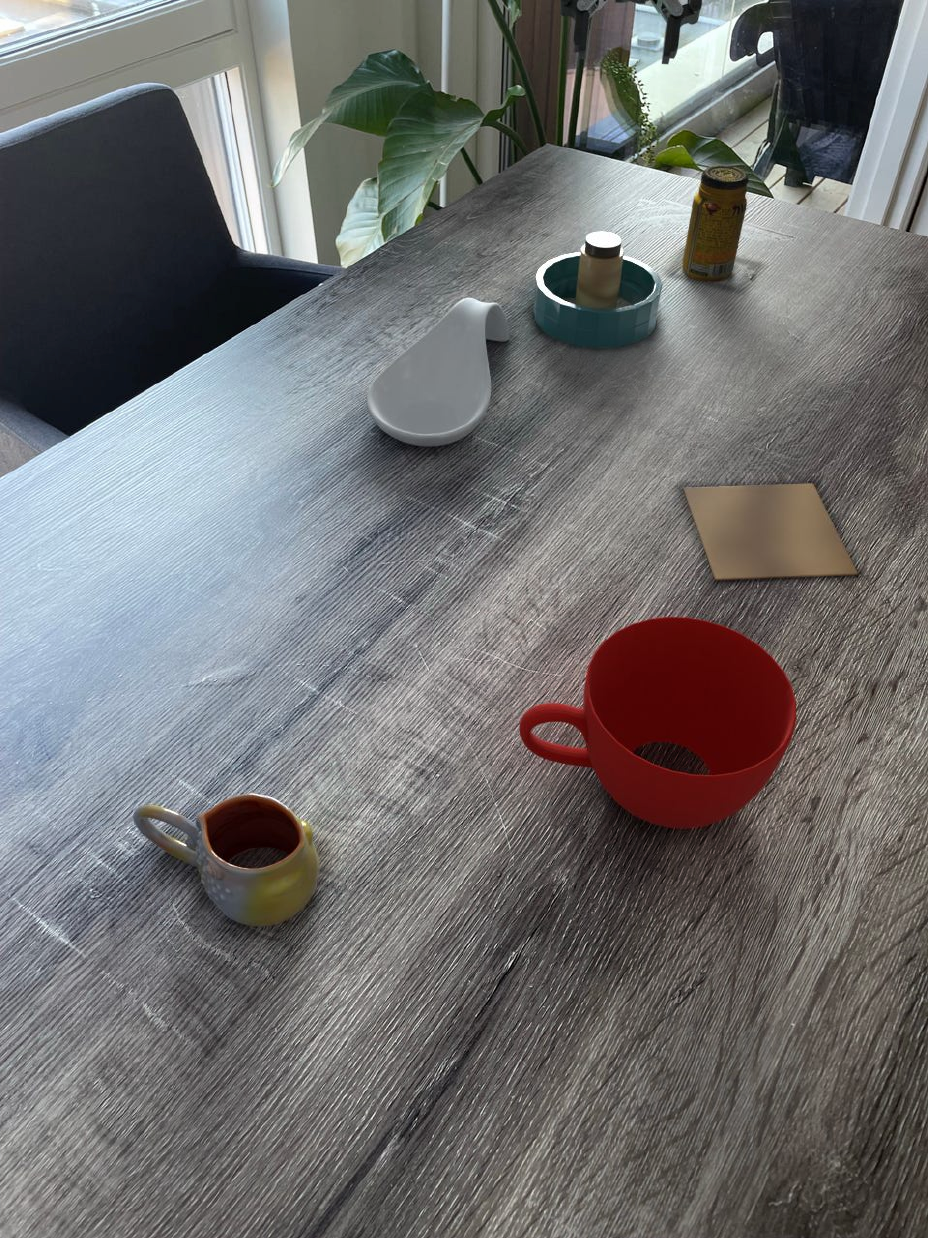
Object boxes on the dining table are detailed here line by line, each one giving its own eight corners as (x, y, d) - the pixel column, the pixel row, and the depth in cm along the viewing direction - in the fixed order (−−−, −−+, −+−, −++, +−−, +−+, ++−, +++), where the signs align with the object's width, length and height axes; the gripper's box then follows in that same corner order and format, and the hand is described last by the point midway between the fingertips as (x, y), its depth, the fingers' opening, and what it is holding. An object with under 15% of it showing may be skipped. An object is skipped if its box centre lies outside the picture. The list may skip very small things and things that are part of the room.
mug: (341, 859, 64) (332, 800, 59) (290, 953, 60) (276, 898, 55) (180, 801, 67) (160, 740, 62) (120, 886, 63) (93, 829, 58)
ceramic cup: (504, 718, 72) (510, 622, 65) (733, 706, 73) (764, 611, 66) (524, 878, 63) (534, 788, 56) (785, 862, 64) (827, 772, 57)
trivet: (810, 491, 91) (813, 482, 90) (855, 582, 83) (858, 573, 82) (680, 496, 91) (682, 487, 90) (713, 588, 82) (715, 579, 81)
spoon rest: (465, 476, 92) (466, 410, 87) (348, 449, 95) (342, 384, 90) (538, 349, 108) (543, 287, 103) (436, 329, 110) (436, 268, 105)
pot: (642, 291, 117) (648, 250, 113) (666, 352, 108) (674, 310, 104) (526, 293, 116) (529, 252, 113) (541, 356, 107) (544, 313, 103)
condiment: (687, 256, 123) (706, 156, 115) (755, 271, 121) (779, 170, 112) (669, 281, 119) (686, 179, 110) (738, 297, 116) (762, 194, 108)
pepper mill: (611, 306, 113) (621, 229, 107) (618, 327, 110) (629, 248, 104) (571, 307, 113) (578, 229, 106) (577, 328, 110) (585, 249, 103)
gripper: (572, -134, 99) (554, 32, 99) (718, -127, 97) (699, 40, 98) (571, -81, 106) (554, 72, 106) (706, -74, 105) (689, 81, 105)
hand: (624, 57), depth 102 cm, fingers open, 8 cm apart
